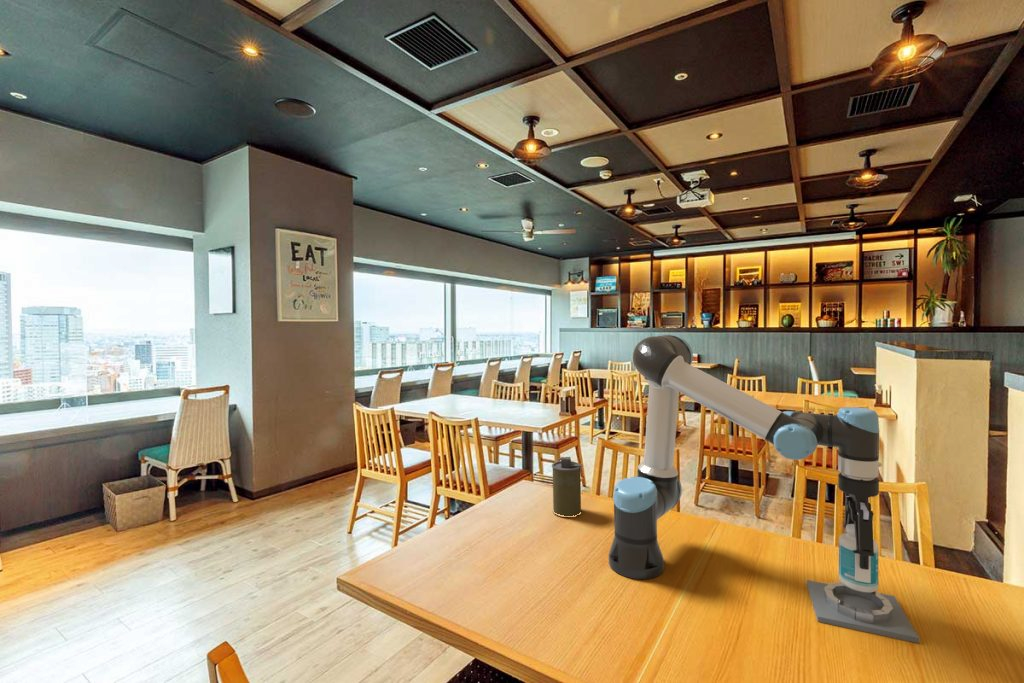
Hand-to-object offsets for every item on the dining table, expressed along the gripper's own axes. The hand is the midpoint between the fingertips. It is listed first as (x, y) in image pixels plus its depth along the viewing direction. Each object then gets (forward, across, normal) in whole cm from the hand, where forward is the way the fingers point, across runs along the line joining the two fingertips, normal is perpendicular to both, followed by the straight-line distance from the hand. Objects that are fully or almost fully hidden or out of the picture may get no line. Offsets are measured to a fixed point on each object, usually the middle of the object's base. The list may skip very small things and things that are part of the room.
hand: (858, 571), depth 107 cm
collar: (+8, 0, 0) cm, 8 cm away
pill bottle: (+3, 0, 0) cm, 3 cm away
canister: (+9, +28, +80) cm, 85 cm away
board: (+9, 0, 0) cm, 9 cm away
